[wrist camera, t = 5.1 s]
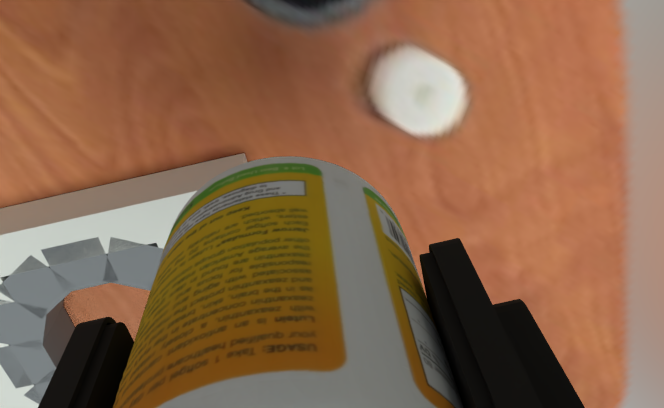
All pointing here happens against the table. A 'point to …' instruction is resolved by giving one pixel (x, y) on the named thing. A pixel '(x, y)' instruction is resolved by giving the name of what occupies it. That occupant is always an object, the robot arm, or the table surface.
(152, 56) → the table surface
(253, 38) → the table surface
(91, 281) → the holder
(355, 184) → the supplement bottle
